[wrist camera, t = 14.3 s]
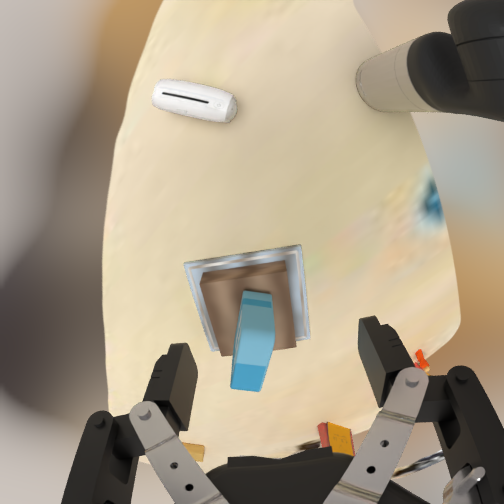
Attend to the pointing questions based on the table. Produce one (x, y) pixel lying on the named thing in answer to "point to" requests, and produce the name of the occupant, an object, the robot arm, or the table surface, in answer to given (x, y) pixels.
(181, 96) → the photo printer
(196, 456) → the rubber stamp
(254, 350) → the data package
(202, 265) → the base
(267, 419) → the table surface
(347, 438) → the toy building block set
